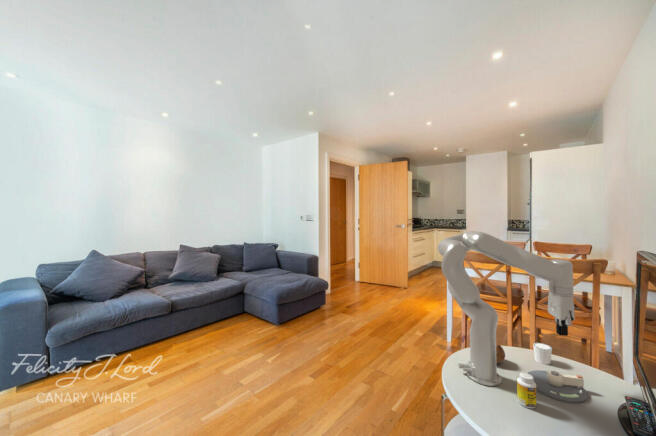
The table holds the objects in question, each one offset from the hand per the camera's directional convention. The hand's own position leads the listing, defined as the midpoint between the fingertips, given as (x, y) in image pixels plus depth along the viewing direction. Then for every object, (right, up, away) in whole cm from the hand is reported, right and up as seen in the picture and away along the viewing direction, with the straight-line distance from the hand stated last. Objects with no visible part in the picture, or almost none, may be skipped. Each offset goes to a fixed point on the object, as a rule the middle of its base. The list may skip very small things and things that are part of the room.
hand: (562, 334), depth 108 cm
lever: (-4, -17, -5) cm, 18 cm away
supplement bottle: (-24, -19, -13) cm, 34 cm away
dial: (-7, -19, -4) cm, 20 cm away
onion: (-19, -19, +15) cm, 31 cm away
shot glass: (+3, -19, +14) cm, 23 cm away
